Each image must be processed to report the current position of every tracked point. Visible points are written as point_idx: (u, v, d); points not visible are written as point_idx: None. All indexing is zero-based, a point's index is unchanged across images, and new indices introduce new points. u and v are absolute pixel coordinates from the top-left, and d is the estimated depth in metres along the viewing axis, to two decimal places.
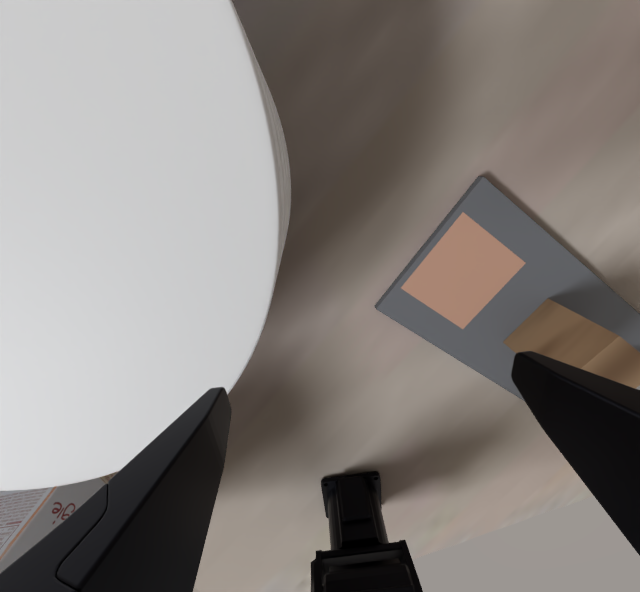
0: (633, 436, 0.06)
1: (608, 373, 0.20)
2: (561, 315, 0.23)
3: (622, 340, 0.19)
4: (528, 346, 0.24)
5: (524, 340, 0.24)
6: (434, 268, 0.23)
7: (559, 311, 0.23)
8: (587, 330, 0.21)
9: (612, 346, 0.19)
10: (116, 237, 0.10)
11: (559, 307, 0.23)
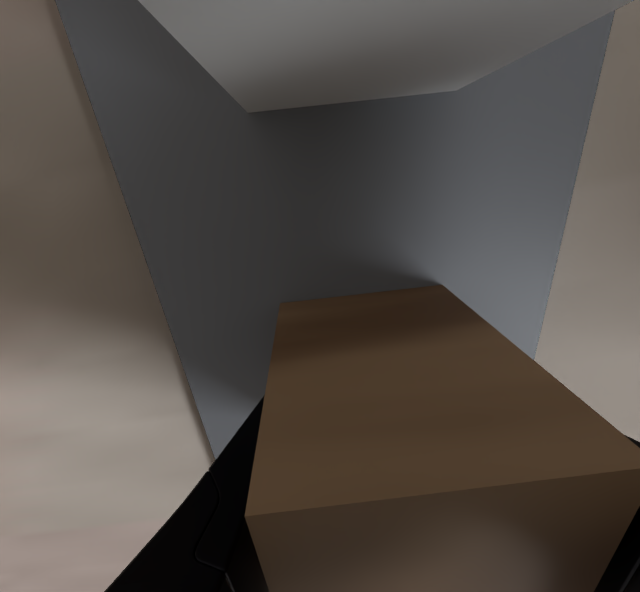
0: None
1: None
2: None
3: None
4: None
5: None
6: None
7: None
8: None
9: None
10: None
11: None
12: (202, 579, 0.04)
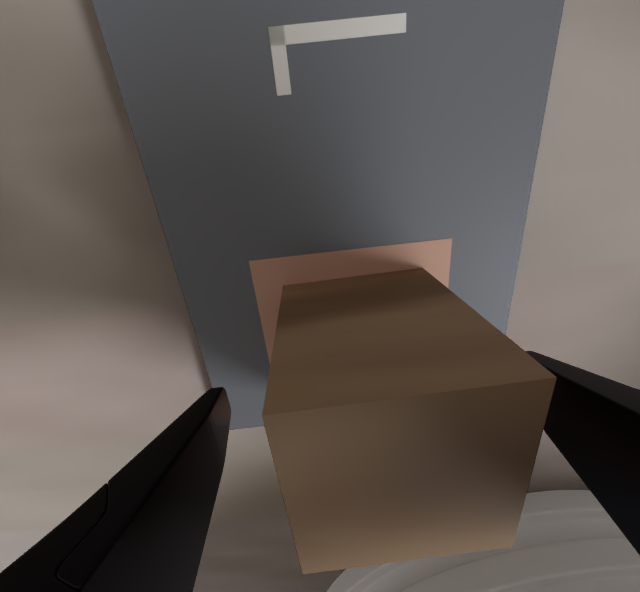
0: (633, 436, 0.06)
1: (392, 507, 0.06)
2: None
3: (303, 562, 0.07)
4: None
5: None
6: None
7: None
8: None
9: (331, 563, 0.07)
10: None
11: None
12: None
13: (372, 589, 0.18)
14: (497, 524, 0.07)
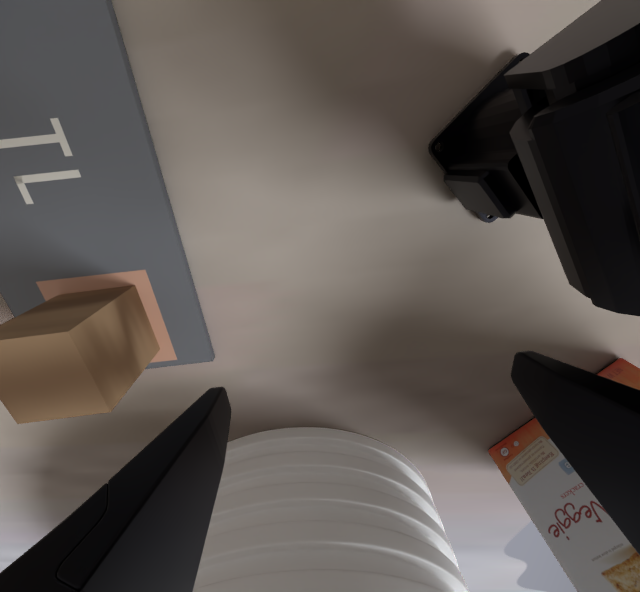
0: (633, 436, 0.06)
1: (38, 388, 0.15)
2: None
3: (14, 416, 0.16)
4: None
5: None
6: None
7: None
8: None
9: (28, 417, 0.16)
10: None
11: None
12: None
13: None
14: (94, 399, 0.15)
